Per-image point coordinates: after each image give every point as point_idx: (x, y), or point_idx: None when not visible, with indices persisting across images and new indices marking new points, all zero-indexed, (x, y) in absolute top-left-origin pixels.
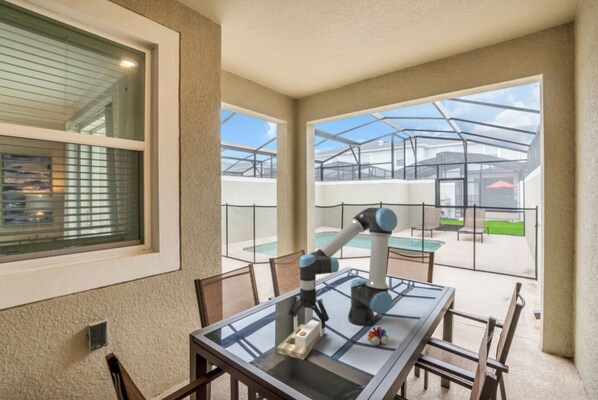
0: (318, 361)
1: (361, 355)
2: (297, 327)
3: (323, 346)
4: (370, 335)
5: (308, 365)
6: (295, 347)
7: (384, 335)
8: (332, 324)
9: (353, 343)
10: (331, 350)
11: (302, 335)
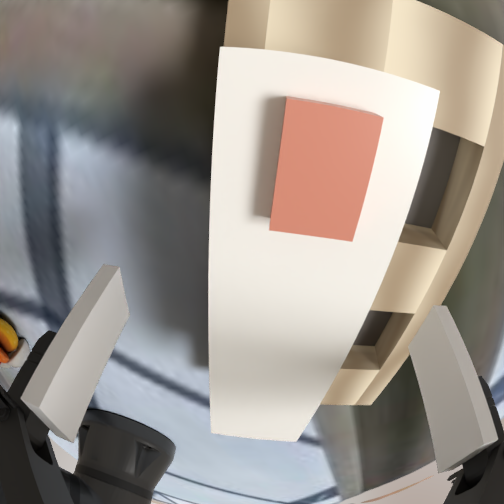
0: (110, 20)
1: None
2: (412, 352)
3: (153, 237)
4: (9, 347)
5: None
6: (371, 62)
7: None
8: None
9: (43, 304)
10: (84, 204)
11: (302, 97)
